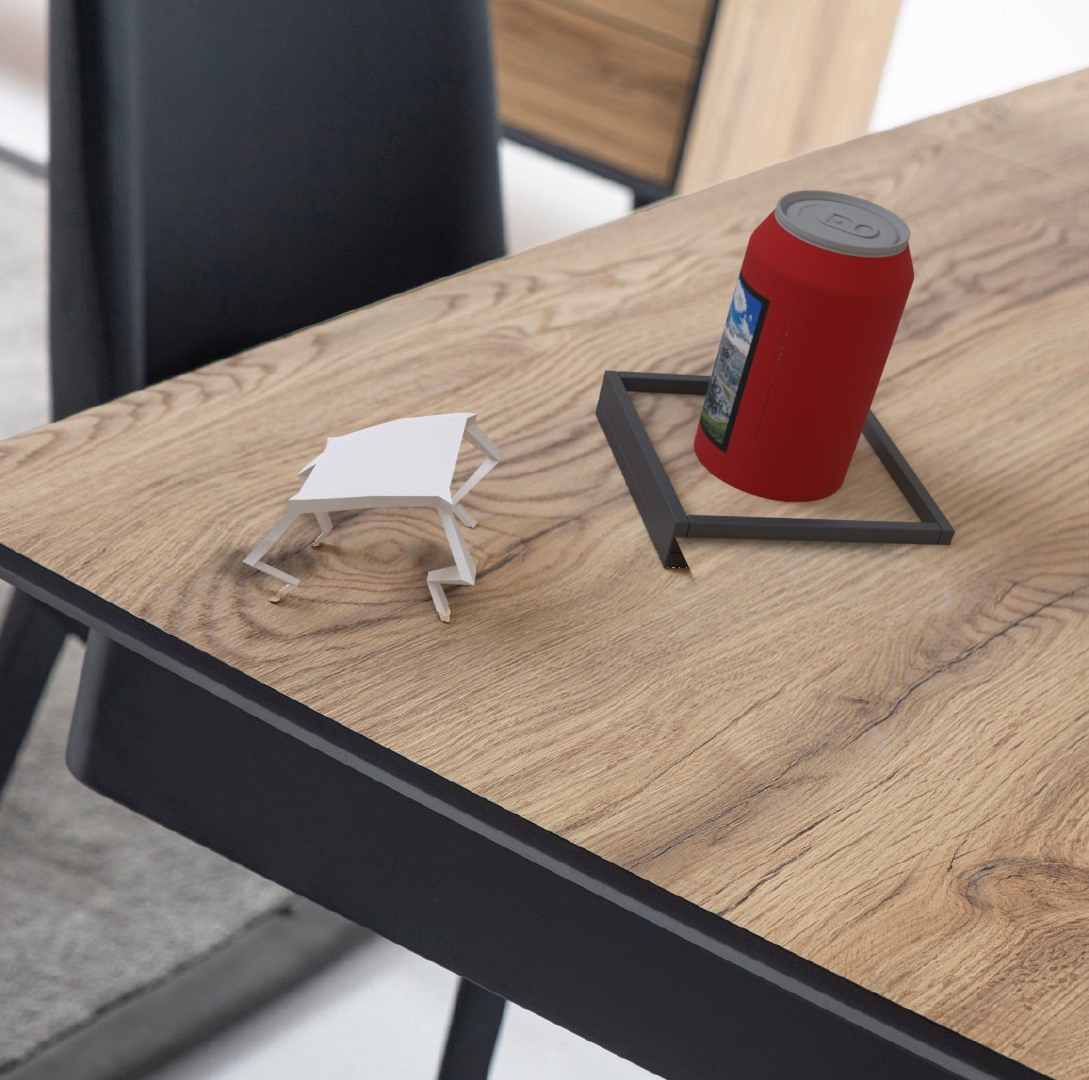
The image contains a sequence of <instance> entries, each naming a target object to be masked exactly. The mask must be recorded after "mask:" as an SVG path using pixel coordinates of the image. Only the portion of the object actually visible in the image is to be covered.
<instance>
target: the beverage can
mask: <svg viewBox="0 0 1089 1080" xmlns="http://www.w3.org/2000/svg"><path fill="white" fill-rule="evenodd" d="M910 238H911V230H910V228H909V226H908V224H907V223H906V222H905V221H904V220H903V218H901V217H900V216H899V215H897V214H896V213H894V212H893V211H891V210H890V209H887V208H886V207H883V206H882V205H880V204H878V203H875V202H872V201H869V200H867V199H864V198H861V197H858V196H854V195H851V194H846V193H842V192H835V191H831V190H819V189H804V190H802V189H801V190H796V191H795V190H794V191H793V192H792V191H791V192H788V193H786V194H784V195H782V196H781V197H780V198H779V199H778V201H777V204H776V206H775V208H774V209H773V210H772V211H771V212H770V213H769V214H768V215H767V216H766V217H765V219H763V220H762V221H761V222H760V224H758V225H757V226H756V228H755V229H753V231H752V233H751V235H750V236H749V239H748V243H747V246H746V250H745V253H744V257H743V260H742V263H741V267H740V271H739V274H738V277H737V281H736V284H735V288H734V291H733V295H732V298H731V302H730V305H729V309H728V312H727V317H726V319H725V324H724V327H723V331H722V334H721V338H720V342H719V345H718V349H717V353H716V357H715V360H714V364H713V367H712V371H711V375H710V376H711V378H710V382H709V386H708V389H707V393H706V395H705V398H704V401H703V406H702V409H701V412H700V416H699V420H698V423H697V429H696V432H695V436H694V440H693V449H694V453H695V455H696V457H697V459H698V461H699V463H701V465H702V466H703V467H704V468H705V470H707V471H708V472H709V473H711V475H713V476H714V477H716V478H717V479H718V480H720V481H721V482H723V483H725V484H726V485H729V486H730V487H733V488H734V489H737V490H739V491H741V492H743V493H747V494H750V495H752V496H755V497H759V498H763V499H767V500H772V501H778V502H786V503H787V502H788V503H806V502H807V503H808V502H814V501H819V500H823V499H826V498H828V497H831V496H832V495H833V494H835V493H837V491H839V489H840V488H841V487H842V485H843V484H844V481H845V479H846V476H847V474H848V470H849V468H850V465H851V463H852V459H853V457H854V454H855V451H856V449H857V446H858V443H859V441H860V438H861V435H862V430H863V427H864V424H865V421H866V418H867V415H868V413H869V410H870V409H871V407H872V404H873V401H874V398H875V396H876V393H877V390H878V387H879V384H880V381H881V378H882V376H883V373H884V369H885V366H886V364H887V362H888V358H889V355H890V353H891V349H892V347H893V344H894V341H895V337H896V335H897V332H898V328H899V326H900V323H901V320H902V317H903V313H904V311H905V307H906V305H907V302H908V299H909V296H910V293H911V290H912V287H913V284H914V281H915V270H914V265H913V259H912V254H911V250H910V249H911V248H910V244H909V242H910Z"/></svg>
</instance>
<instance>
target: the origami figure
mask: <svg viewBox="0 0 1089 1080" xmlns="http://www.w3.org/2000/svg"><path fill="white" fill-rule="evenodd" d="M477 418H478V413H474V412H473V413H472V412H465V411H464V412H462V411H461V412H452V413H442V414H432V415H423V416H414V417H404V418H397V419H394V420H391V421H388V422H383V423H379V424H375V425H373V426H369V427H366V428H363V429H359V430H357V431H353V432H350V433H347V434H344V435H340V436H333V437H329V436H328V437H327V438H326V444H325V449H324V450H323V451H322V452H321V453H320V454H319V455H317V456H316V457H315V458H313V459H312V460H311V461H310V462H309V463H307V465H305V466H304V467H303V468H302V469H301V470H300V472H299V473H298V474H297V478H298V479H299V482H300V484H301V488H300V490H299V492H298V493H296V494H295V495H293V496H291V497H290V498H289V499H287V503H286V509H285V514H284V515H283V516H282V518H281V519H280V520H278V522H277V524H275V525H274V527H273V528H272V529H271V530H270V531H269V532H268V533H267V534H266V536H265V537H264V538H263V539H262V540H261V541H260V542H259V543H258V544H257V545H256V546H255V547H254V548H253V549H252V551H250V553H249V554H248V555H246V557H245V558H244V559H242V561H241V562H242V563H244V564H247V565H248V566H250V567H252V568H254V569H257V570H259V571H260V572H263V573H265V574H267V575H269V576H271V577H273V578H275V579H277V580H279V581H281V582H283V583H286V585H285V586H286V588H284V589H287V590H290V592H292V591H293V590H294V589H295V588H297V587H298V586H299V585H300V582H301V579H299V578H297V577H295V576H292V575H290V574H288V573H286V572H285V571H282V570H280V569H278V568H275V567H274V566H272V565H269V564H267V563H265V562H263V561H262V560H261V559H262V557H263V556H264V555H266V554H267V553H268V552H269V550H271V549H272V548H273V546H275V544H276V543H278V541H279V540H280V539H281V538H283V536H285V534H286V533H287V532H288V531H289V530H290V529H291V528H292V527H293V526H294V525H295V523H296V522H297V521H298V520H299V519H300V518H301V517H302V516H303V514H312V513H313V514H314V516H315V518H316V520H317V521H316V522H318V525H319V528H320V529H321V532H322V533H321V534H320V535H319V536H318V537H317V538H316V539H315V540H314V541H315V542H314V541H313V542H314V543H313V542H312V544H319V543H321V544H322V543H323V541H324V540H325V539H326V537H328V535H329V534H330V532H331V531H332V530H333V528H334V526H333V523H332V520H331V516H330V514H329V512H338V511H339V512H340V511H349V510H351V511H352V510H360V509H373V508H374V509H377V508H378V509H381V508H414V507H417V508H420V507H421V508H422V507H436V509H437V512H438V515H439V518H440V520H441V524H442V526H443V530H444V533H445V535H446V538H447V541H448V544H449V547H450V551H451V553H452V555H453V558H454V561H455V564H456V565H452V566H447V567H442V568H437V569H434V570H430V571H428V572H427V578H426V583H427V586H428V589H429V592H430V595H431V598H432V602H433V604H434V607H435V609H436V612H440V613H445V614H442V615H446V614H447V612H448V611H447V610H448V609H447V608H448V607H449V606H450V604H449V601H448V599H447V596H446V594H445V592H444V589H443V586H442V585H441V584H445V585H446V584H447V585H461V586H462V585H463V586H475V585H476V577H477V567H476V564H475V562H474V560H473V558H472V555H471V552H470V551H469V548H468V546H467V544H466V541H465V538H464V536H463V535H462V532H461V529H460V527H459V525H458V522H457V520H456V517H457V518H458V519H459V520H460V522H462V524H463V525H464V526H465V527H469V528H473V529H475V528H476V526H477V524H478V521H477V520H476V519H475V518H474V517H473V516H472V515H471V514H470V513H469V512H468V511H467V509H466V508H465V507H464V506H463V505H462V504H461V503H460V501H461V500H462V499H463V498H464V497H465V496H466V495H467V494H468V493H469V492H470V491H471V490H472V489H473V488H474V487H475V486H476V485H477V484H478V483H479V482H480V481H481V480H482V479H483V478H484V477H485V476H486V475H487V474H488V473H489V472H490V471H491V470H493V468H495V466H497V464H499V463H500V461H502V459H504V457H505V455H504V454H503V453H502V451H500V449H499V448H498V447H497V446H496V445H495V443H494V442H493V441H492V439H490V438H489V436H488V435H487V434H486V433H485V432H484V431H483V429H481V428H480V426H479V425H478V424H477V423H476V421H477ZM463 439H465V440H466V441H467V442H468V443H470V444H471V445H472V446H473V447H475V448H476V449H478V451H480V452H481V453H482V454H484V455H485V456H486V457H487V458H486V459H485V460H484V461H483V463H482V464H481V465H480V466H479V467H478V468H477V469H476V470H475V471H474V472H473V474H472V475H471V476H470V477H469V478H468V479H467V480H466V481H465V483H464V484H463V485H462V486H461V487H460V488H459V490H458V491H457V492H456V493H455V494H454V495H453V496H452V493H451V490H450V488H451V485H452V482H453V481H452V480H453V477H454V472H455V469H456V465H457V460H458V456H459V453H460V448H461V444H462V440H463ZM453 513H454V514H455V515H454V514H453ZM455 516H456V517H455ZM260 560H261V561H260ZM448 605H449V606H448Z"/></svg>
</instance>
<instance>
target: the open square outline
mask: <svg viewBox="0 0 1089 1080" xmlns="http://www.w3.org/2000/svg"><path fill="white" fill-rule="evenodd" d="M710 378H711V375H702V374H701V375H699V374H698V375H697V374H681V373H662V372H661V373H660V372H646V371H645V372H644V371H643V372H641V371H624V370H623V371H622V370H618V371H617V370H605V371H604V373H603V378H602V381H601V382H602V383H601V385H600V386H601V387H600V391H599V397H598V400H597V405H596V409H595V412H594V413H595V416H596V418H597V421H598V422H599V423H598V424H599V425H600V427H601V429H602V433H603V434H604V436H605V438H606V441H607V443H608V445H609V447H610V450H611V452H612V455H613V457H614V459H615V461H616V463H617V466H618V468H619V470H620V472H621V475H622V477H623V480H624V481H625V484H626V486H627V489H628V491H629V493H630V496H631V498H632V500H633V502H634V504H635V506H636V508H637V511H638V514H639V515H640V518H641V520H642V522H643V525H644V528H645V529H646V531H647V534H648V535H649V538H650V541H651V543H652V545H653V547H654V550H655V552H656V551H657V552H656V553H657V556H658V555H659V556H658V559H659V560H661V561H660V563H661V562H662V563H661V565H662V564H663V565H662V567H663V566H664V567H669V568H668V569H673V568H672V567H675V568H674V569H679V567H680V568H686V567H687V568H690V566H689V564H688V562H687V560H686V557H685V555H684V552H683V551H682V548H681V547H680V545H679V542H678V540H677V538H697V539H698V538H700V539H701V538H702V539H730V540H732V539H733V540H764V541H766V540H767V541H797V542H799V541H800V542H829V543H830V542H833V543H859V544H860V543H861V544H862V543H863V544H893V545H894V544H899V545H930V546H937V545H938V546H951V543H952V541H953V538H954V537H955V534H956V530H955V529H954V527H953V526H952V523H951V522H950V521H949V519H948V518H947V517H946V515H945V514H944V512H943V511H942V510H941V509H940V506H939V505H938V503H937V502H936V501H935V499H934V498H933V497H932V496H931V494H930V492H929V491H928V489H927V488H926V486H925V485H924V484H923V483H922V481H921V480H920V478H919V477H918V475H917V473H916V472H915V471H914V470H913V468H912V467H911V465H910V463H909V462H908V461H907V459H906V458H905V457H904V455H903V454H902V452H901V450H900V449H899V448H898V446H897V445H896V443H895V442H894V441H893V439H892V437H891V436H890V435H889V433H888V432H887V431H886V429H885V428H884V426H883V425H882V424H881V422H880V421H879V420H878V418H877V416H876V415H875V414H874V412H873V410H872V409H871V408H870V410H869V413H868V415H867V418H866V421H865V424H864V427H863V430H862V432H861V435H863V437H864V438H865V440H866V441H867V443H868V444H869V446H870V447H871V449H872V450H873V452H874V453H875V455H876V456H877V458H878V459H879V461H880V462H881V463H882V465H883V466H884V468H885V470H886V471H887V472H888V474H889V475H890V477H891V478H892V480H893V482H894V484H896V486H897V487H898V489H899V490H900V492H901V493H902V495H903V496H904V498H905V499H906V501H907V503H908V504H909V505H910V507H911V508H912V510H913V511H914V512H915V514H916V515H917V517H918V519H919V520H920V521H919V522H916V521H893V520H891V521H889V520H863V519H860V520H858V519H829V518H828V519H826V518H802V517H801V518H800V517H799V518H798V517H771V516H769V517H768V516H766V517H765V516H743V515H742V516H739V515H709V514H707V515H706V514H687V513H686V512H685V509H684V507H683V504H682V503H681V502H680V499H679V497H678V495H677V492H676V490H675V489H674V485H672V482H671V480H670V478H669V477H668V474H667V472H666V470H665V467H664V466H663V464H662V461H661V459H660V457H659V456H658V453H657V451H656V449H655V447H654V445H653V443H652V441H651V438H650V437H649V435H648V432H647V431H646V429H645V426H644V424H643V422H642V420H641V418H640V416H639V414H638V412H637V409H636V408H635V405H634V404H633V401H632V399H631V397H630V395H629V393H628V392H631V393H632V392H634V393H649V394H650V393H652V394H653V393H654V394H673V395H693V396H706V393H707V389H708V386H709V382H710ZM664 567H663V568H664Z"/></svg>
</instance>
